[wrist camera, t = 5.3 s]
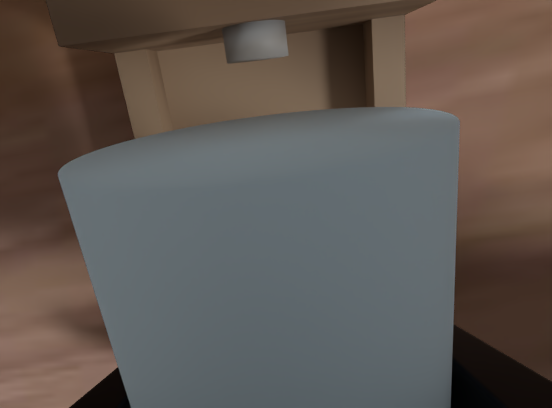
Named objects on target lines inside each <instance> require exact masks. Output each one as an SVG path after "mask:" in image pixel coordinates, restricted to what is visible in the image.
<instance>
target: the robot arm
mask: <svg viewBox="0 0 552 408" xmlns="http://www.w3.org/2000/svg"><path fill="white" fill-rule="evenodd" d="M69 408H131V406H130V403H129V400H128V396H127V393H126V390H125V387H124V384H123V381H122V377H121V374H120V371H119V368H116V369H115V370H114V371H113V372H112V373H110V374H109V375H108V376H107V377H106V378H104V379H103V380H102V381H101V382H100V383H98V384H97V385H96V386H95V387H94V388H92V389H91V390H90V391H89V392H87V393H86V394H85V395H84V396H83V397H81V398H80V399H79V400H78V401H77V402H75V403H74V404H73V405H72V406H71V407H69ZM451 408H552V381H550V380H548V379H546V378H545V377H543V376H541V375H540V374H538V373H536V372H534V371H533V370H531V369H529V368H528V367H526V366H524V365H523V364H521V363H519V362H517V361H516V360H514V359H512V358H511V357H509V356H507V355H505V354H504V353H502V352H500V351H499V350H497V349H495V348H493V347H492V346H490V345H488V344H487V343H485V342H483V341H481V340H480V339H478V338H476V337H475V336H473V335H471V334H469V333H468V332H466V331H464V330H463V329H461V328H459V327H457V326H456V325H454V324H453V352H452V383H451Z"/></svg>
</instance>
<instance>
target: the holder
mask: <svg viewBox="0 0 552 408" xmlns="http://www.w3.org/2000/svg"><path fill="white" fill-rule="evenodd" d="M434 1H436V0H46V3H47V7H48V10H49V14H50V17H51V21H52V24H53V28H54V31H55V35H56V38H57V42H58V45H59V46H60V47H68V48H76V49H83V50H91V51H99V52H107V53H114V55H115V59H116V64H117V68H118V72H119V76H120V80H121V84H122V88H123V93H124V97H125V101H126V105H127V109H128V113H129V117H130V122H131V126H132V130H133V134H134V138H135V139H137V138H141V137H145V136H149V135H154V134H158V133H163V132H167V131H172V130H177V129H182V128H188V127H193V126H198V125H204V124H210V123H216V122H222V121H228V120H235V119H242V118H249V117H257V116H264V115H273V114H281V113H290V112H300V111H311V110H324V109H338V108H358V107H406V86H405V14H408V13H410V12H412V11H414V10H416V9H419V8H421V7H423V6H425V5H427V4H430V3H432V2H434Z"/></svg>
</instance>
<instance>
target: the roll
mask: <svg viewBox="0 0 552 408" xmlns="http://www.w3.org/2000/svg"><path fill="white" fill-rule="evenodd" d="M459 132H460V120H459V119H458V118H457V117H456V116H454V115H452V114H450V113H447V112H443V111H438V110H432V109H424V108H410V107H358V108H338V109H324V110H311V111H300V112H290V113H281V114H273V115H264V116H257V117H249V118H242V119H235V120H228V121H222V122H216V123H210V124H204V125H198V126H193V127H188V128H182V129H177V130H172V131H167V132H163V133H158V134H154V135H149V136H145V137H141V138H137V139H133V140H129V141H125V142H122V143H118V144H115V145H111V146H108V147H105V148H102V149H99V150H96V151H93V152H90V153H88V154H85V155H83V156H80V157H78V158H76V159H74V160H72V161H70V162H69V163H67V164H65V165H64V166H63V167H62V168H61V169H60V170H59V172H58V178H59V181H60V184H61V187H62V190H63V194H64V197H65V200H66V203H67V206H68V209H69V213H70V216H71V219H72V222H73V225H74V228H75V232H76V235H77V238H78V241H79V244H80V247H81V251H82V254H83V257H84V260H85V263H86V266H87V270H88V273H89V276H90V279H91V282H92V286H93V289H94V292H95V295H96V298H97V301H98V305H99V308H100V311H101V314H102V317H103V320H104V324H105V327H106V330H107V333H108V336H109V339H110V343H111V346H112V349H113V352H114V355H115V358H116V362H117V365H118V368H119V371H120V374H121V377H122V381H123V384H124V387H125V390H126V393H127V396H128V400H129V403H130V406H131V408H451V383H452V352H453V320H454V289H455V258H456V226H457V195H458V163H459Z"/></svg>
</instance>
